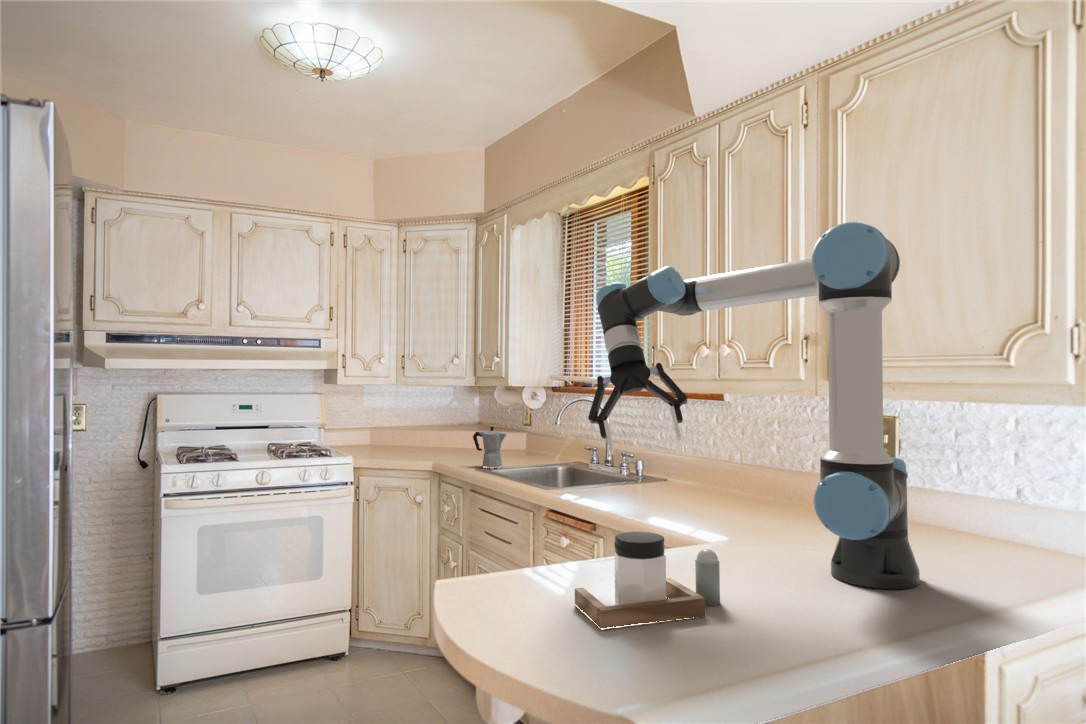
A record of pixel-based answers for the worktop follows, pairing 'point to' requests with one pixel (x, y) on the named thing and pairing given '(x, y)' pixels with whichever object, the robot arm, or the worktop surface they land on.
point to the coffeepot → (490, 447)
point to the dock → (643, 607)
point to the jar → (639, 568)
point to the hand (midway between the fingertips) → (645, 445)
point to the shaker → (708, 577)
